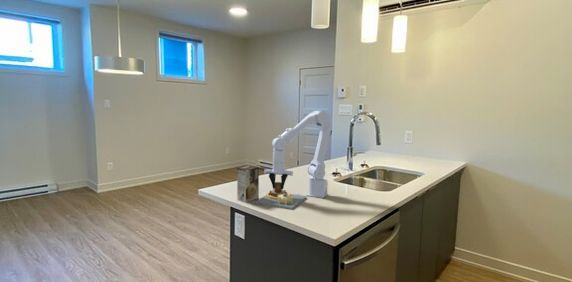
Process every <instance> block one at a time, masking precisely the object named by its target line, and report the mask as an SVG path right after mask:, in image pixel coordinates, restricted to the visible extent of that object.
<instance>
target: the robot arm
mask: <svg viewBox="0 0 572 282" xmlns="http://www.w3.org/2000/svg"><path fill="white" fill-rule="evenodd" d="M330 119H331V116H330V115H329V113H328V112H327V111H325V110H313V111H311V112H309V114H307V116H305V117H304V118H303V119H302V120H300V122H299V123H297V124H296V125H295V126H294V127H289V128H288V127H287V128H286V129H285V131H284V132H283V133H282V134H278V137H275V138H274V139H272V142H271V147H272V148H273V149H272V151H273V152H272V169H264V170H263V174H264V175H267V174H268V178H269V179H270V180H269V181H270V182H271V186H272V190H273V189H275V182H276V175H279V176H280V180H281V181H280V182H281V189H282V190H284V187H285V183H286V180H287V179H288V176H290V177H291V176H293V175H294V171H293V170H292V171H291V170H285V149H286V148H287V145H289V144H290V143H291V142H292V141H293V140H295V139H296V138H297V137H298V134H299V132H301V131H303V130H304V129H305V128H307V127H308V126H310V125H313V124H314V125H317V127H318V129H319V133H318V140H317V144H316V148H315V152H314V156H313V159H312V160H311V162H310V164H309V165H308V167H307V173H308V175H309V176H308V193H306V194H305V196H306V197H312V198H313V197H315V198H322V199H324V198H325V197H326V196H327V195H328V184H329V183H328V180H327V179H326V178H324V177H325V175H326V170H325V169H326V164H325V157H326V153H327V149H328V144H329V139H330V135H331V131H332V125H331V121H330Z"/></svg>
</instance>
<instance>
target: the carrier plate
mask: <svg viewBox="0 0 572 282" xmlns="http://www.w3.org/2000/svg"><path fill="white" fill-rule="evenodd" d="M286 192H287V194H286V193H283V194H281V195H277V196H274V195H270V191H268V192H266V195H263V197H260V198H258V199H256V200H255V201H254V204H255V203H256V204H255V205H261V204H262V206H267V205H269V206H268V207H273V206H274V208H279V207H280V209H285V210H294V209H295V208H296V207H298V205H300V204H301V203H302V202H303V201H305V200H306V199H307V196H306V195H300V194H295V193H293V194H292V193H290V192H288V191H286Z"/></svg>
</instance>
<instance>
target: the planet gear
mask: <svg viewBox="0 0 572 282" xmlns="http://www.w3.org/2000/svg"><path fill="white" fill-rule="evenodd" d="M269 192H270V195H274V196H277V195H281V194H283V193H286V194H287V192H288V191H286V190H285V189H281V181H277V182H276V181H275V189H273V188H272V190H269Z"/></svg>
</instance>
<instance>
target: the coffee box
mask: <svg viewBox="0 0 572 282" xmlns="http://www.w3.org/2000/svg"><path fill="white" fill-rule="evenodd" d="M259 168H260V167H259V166H255V165H252V164H251V165H245V166H241V167H237V168H236V171H237V173H236V176H237V177H236V179H237V181H236V182H237V190H236V191H237V192H236V194H237V195H236V196H237V201H241V202H243V203H248V201H249V202H251V200H252V201H254V199H255V200H258V199H260V198H259V197H260V196H259V194H260V193H259V191H260V187H259V185H260V184H259V183H260V182H259V180H260V178H259V176H260V173H259Z"/></svg>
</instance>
